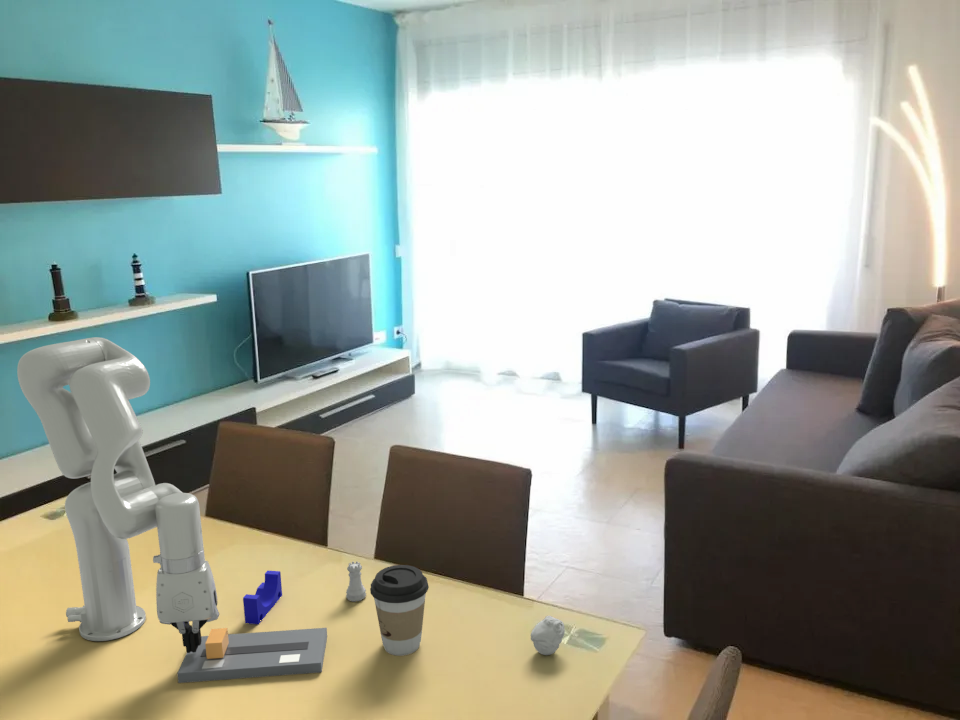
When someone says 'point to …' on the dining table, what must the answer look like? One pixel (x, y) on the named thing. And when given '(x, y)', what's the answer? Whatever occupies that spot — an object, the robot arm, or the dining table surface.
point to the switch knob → (217, 643)
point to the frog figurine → (548, 635)
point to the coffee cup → (400, 607)
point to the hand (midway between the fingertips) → (193, 648)
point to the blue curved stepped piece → (263, 598)
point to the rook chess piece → (355, 583)
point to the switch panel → (258, 656)
